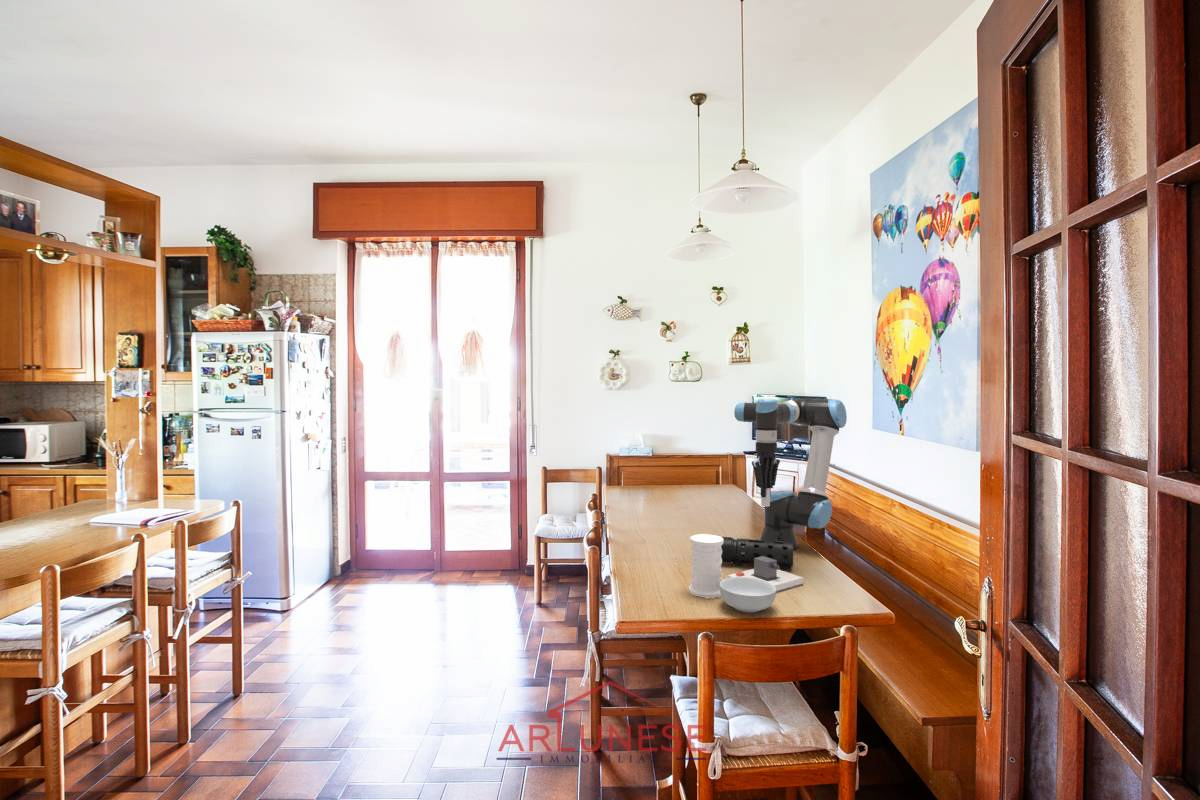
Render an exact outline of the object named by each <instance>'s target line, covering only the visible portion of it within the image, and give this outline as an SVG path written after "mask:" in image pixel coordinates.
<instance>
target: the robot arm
mask: <svg viewBox="0 0 1200 800" xmlns="http://www.w3.org/2000/svg"><path fill="white" fill-rule="evenodd" d="M845 406H846V405H845V404H844V403H843V401H841V400H840V399H833V398H799V399H792V400H790V399H789V400H785V401H783V402H778V400H777V399H775V398H767V399H766V398H760V399H757V400H756V402H738V403H736V405H735V407H734V413H733V415H734V417H735V419H736V421H738V422H743V423H755V440H756V442H755V452H756V453H757V455H756V459H755V460H754V461H751V465H752V467H753V473H754V478H755V484H756V485H755V486H756V487H757V488H760V499H761V500H760V505H761V506H763V507H764V528H763V531H762V532H761V533H762V534H761V537H760V539H759V540H768V541H782V542H792V543H793V549H794V550H796V549H798V540H797V538H796V533H795V530H794V525H796V526H800V527H801V526H802V527H805V528H806V527H808V528H810V529H823V528H825V527H826V526H827V525H828V523H829V522H830V519H831V517H832V513H833V504H832V502H831V501H829V495H827V493H826V488H827V482H828V478H829V477H828V476H829V470H830V464H831V458H832V452H833V446H834V440H835V439H834V438H835V436H836V435H838V434H839V433H840V429H842V428H844V427H845V426H846V424H847V421H848V419H847V417H848V416H847V409H846V407H845ZM786 424H796V425H802V426H809V430H810V431H811V433H812V435H811V440H810V447H809V451H808V458H807V464H806V470H805V476H804V481H803V487H802V488H801V489H800V490H798V493H797V495H795V492H794V491H792V490H777V491H775V490H774V491H772V489H774V486H775V485H776V480H777V474H778V471H779V470H778V469H779V466H780V463H781V460H780V459H778V458H777V457H776V453H777V452H778V443H777V441H778V425H786ZM795 548H796V549H795Z"/></svg>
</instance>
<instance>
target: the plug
mask: <svg viewBox="0 0 1200 800" xmlns="http://www.w3.org/2000/svg"><path fill="white" fill-rule="evenodd" d="M753 569H754V577H757V578H760V579H763V580H765V581H771V580H775V579H776V575H777V570H780V569H781V568H780V566H779V565H777V560H774V559H771V558H768V557H764V556H761V557H757V558H754V564H753Z"/></svg>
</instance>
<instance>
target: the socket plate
mask: <svg viewBox="0 0 1200 800" xmlns="http://www.w3.org/2000/svg"><path fill="white" fill-rule="evenodd" d="M732 577H749V578H756V579H760V578H757V577H754V568H751V569H748V570H743V571H739V572H735V573H731V574H728V575H727V578H732ZM760 580H763V579H760ZM763 581H765V580H763ZM766 582H769V583H771V584H772V585H774V586H775V588H776V594H777V593H779V592H783V590H784V591H786V590H790V589H793V587H794V588H797V587H800V585H801V586H804V577H803V576H799V575H796V574H793V573H790V572H787V571H783V570H781V569H779V570H777V575H776V579H775V580H771V581H766ZM796 586H797V587H796Z"/></svg>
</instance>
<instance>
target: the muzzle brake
mask: <svg viewBox="0 0 1200 800" xmlns="http://www.w3.org/2000/svg"><path fill="white" fill-rule="evenodd" d="M721 537H722V538H723V539H724V544H723V545H721V548H722V554H721V558H722V563H728V564H729V563H731V564H732V565H733V564H735V566H742V565H743V564H744V565H754V558H757V557H761V556H764V557H768V558H771V559H774V560H777V565H779V566H780V568H779V569H790V570H791V569H792V567H794V550H793V543H792V542H782V541H768V540H760V539H753V538H752V539H751V538H737V539H734V538H733V537H732V536H731V537H730V536H721Z"/></svg>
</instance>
